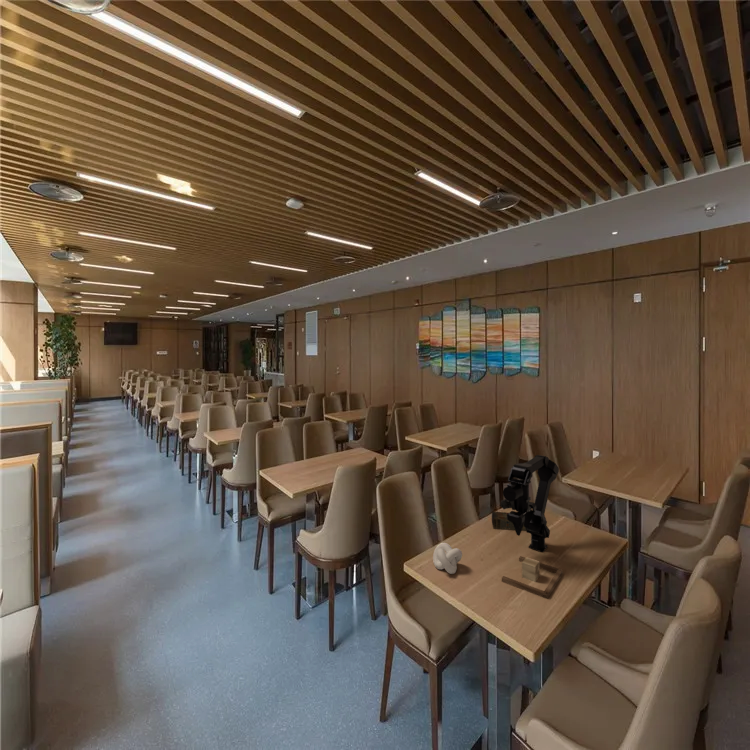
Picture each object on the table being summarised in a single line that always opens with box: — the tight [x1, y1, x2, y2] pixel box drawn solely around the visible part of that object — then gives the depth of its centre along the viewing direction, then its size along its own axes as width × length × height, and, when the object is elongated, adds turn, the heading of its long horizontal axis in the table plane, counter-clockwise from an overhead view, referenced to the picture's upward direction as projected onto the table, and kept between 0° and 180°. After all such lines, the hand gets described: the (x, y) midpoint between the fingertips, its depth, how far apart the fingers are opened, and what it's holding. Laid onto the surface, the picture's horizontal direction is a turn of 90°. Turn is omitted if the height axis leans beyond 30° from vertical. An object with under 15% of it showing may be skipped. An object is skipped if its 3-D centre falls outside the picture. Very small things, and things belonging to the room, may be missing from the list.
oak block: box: [521, 557, 540, 583], centre depth 143 cm, size 5×5×6 cm
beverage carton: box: [491, 511, 526, 532], centre depth 186 cm, size 8×19×7 cm, turn 78°
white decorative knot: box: [432, 542, 463, 575], centre depth 151 cm, size 11×12×9 cm
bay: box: [501, 556, 564, 600], centre depth 143 cm, size 20×16×2 cm
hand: (522, 531), depth 156 cm, fingers open, 9 cm apart
